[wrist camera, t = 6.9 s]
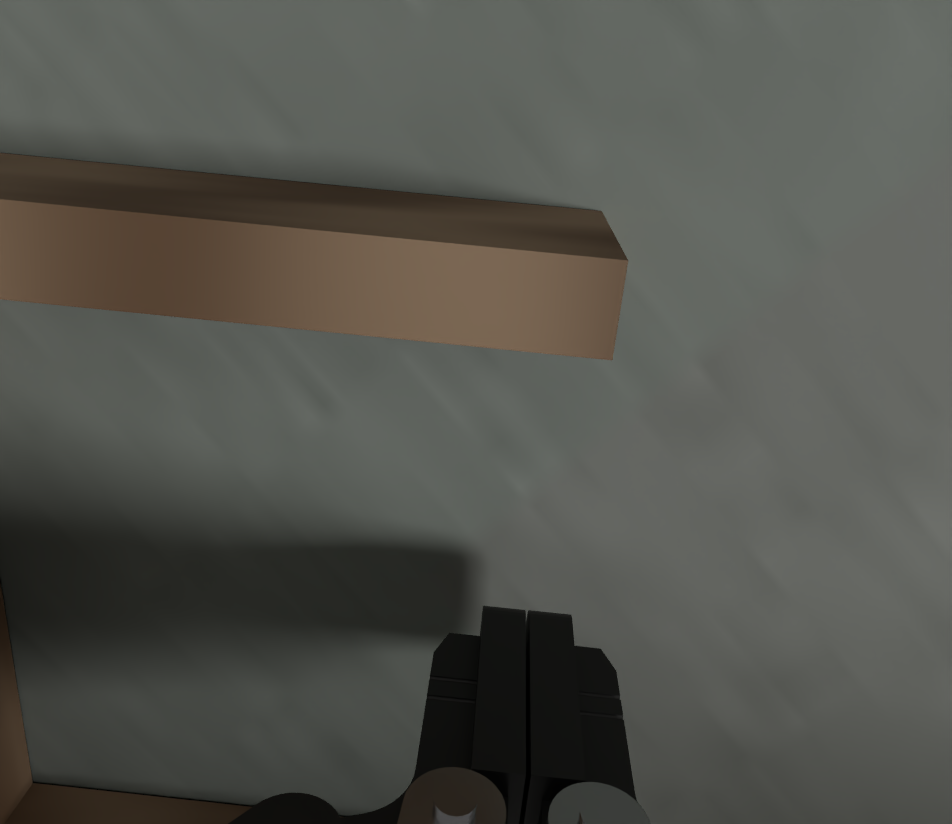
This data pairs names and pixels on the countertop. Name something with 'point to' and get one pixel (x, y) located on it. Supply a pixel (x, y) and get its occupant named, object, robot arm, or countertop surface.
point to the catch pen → (284, 312)
